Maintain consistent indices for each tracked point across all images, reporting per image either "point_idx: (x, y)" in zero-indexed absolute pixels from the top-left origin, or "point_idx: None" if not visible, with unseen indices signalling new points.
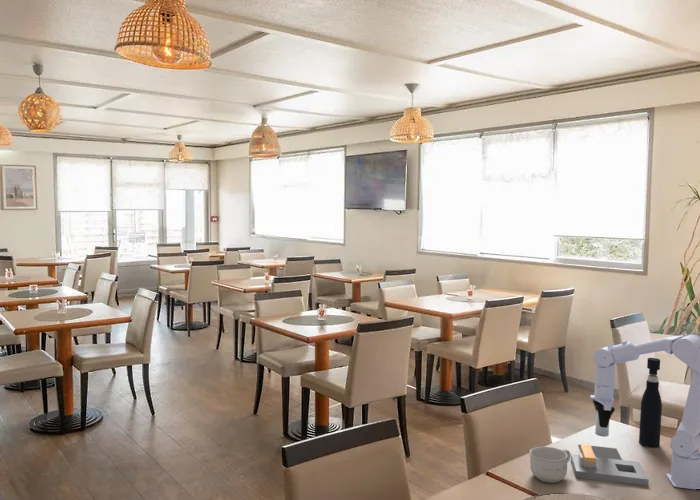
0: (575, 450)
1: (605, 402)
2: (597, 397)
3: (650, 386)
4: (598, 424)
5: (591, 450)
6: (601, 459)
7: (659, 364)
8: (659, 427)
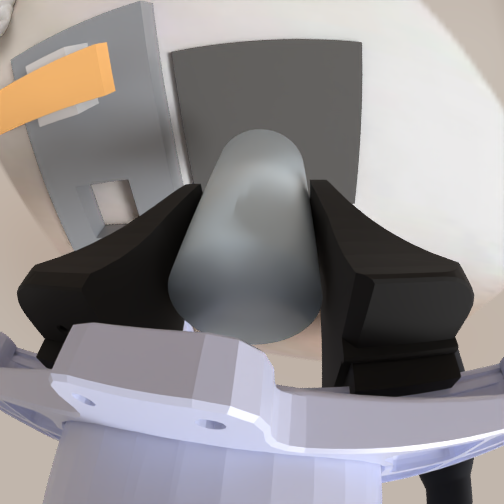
0: (288, 18)
1: (27, 412)
2: (66, 438)
3: (438, 500)
4: (212, 177)
5: (46, 109)
6: (141, 130)
7: None
8: None
